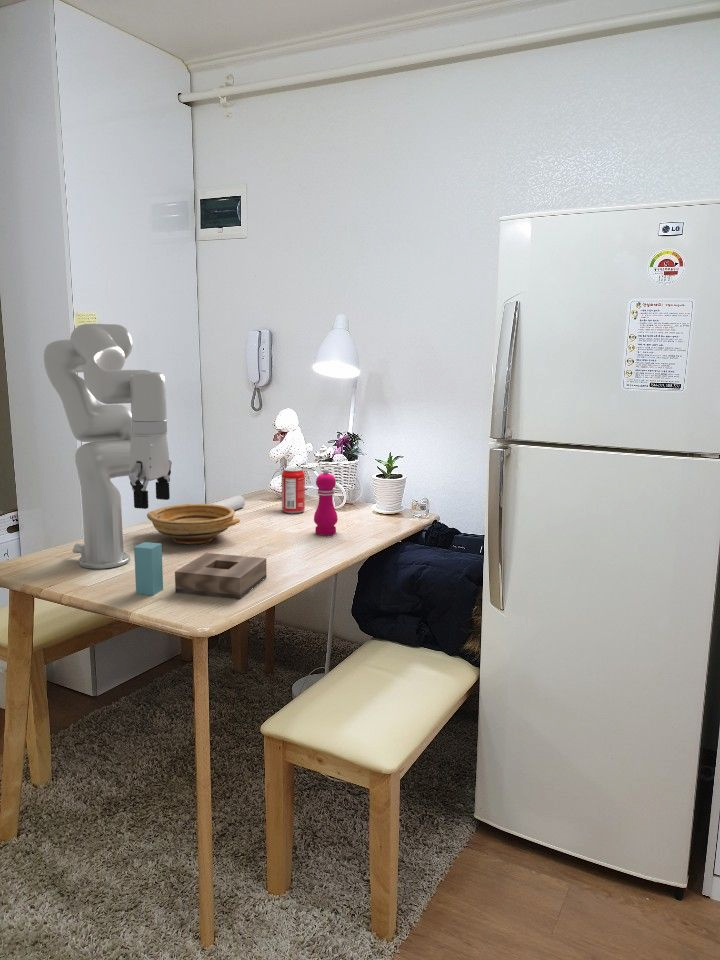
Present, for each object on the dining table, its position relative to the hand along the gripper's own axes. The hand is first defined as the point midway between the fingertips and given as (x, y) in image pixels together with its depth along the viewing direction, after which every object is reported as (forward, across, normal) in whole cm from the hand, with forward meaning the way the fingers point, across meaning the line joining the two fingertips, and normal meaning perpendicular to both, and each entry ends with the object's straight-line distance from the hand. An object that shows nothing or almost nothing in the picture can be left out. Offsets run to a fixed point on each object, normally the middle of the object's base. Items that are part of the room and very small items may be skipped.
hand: (152, 503), depth 165 cm
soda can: (+21, -86, +5) cm, 89 cm away
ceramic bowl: (+21, -44, -12) cm, 51 cm away
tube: (+21, -76, -17) cm, 81 cm away
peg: (+21, +1, -1) cm, 21 cm away
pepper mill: (+21, -62, +24) cm, 69 cm away
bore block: (+21, -8, +13) cm, 26 cm away
